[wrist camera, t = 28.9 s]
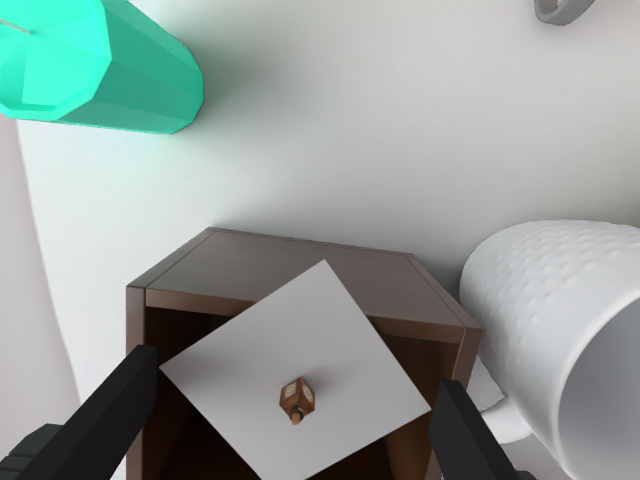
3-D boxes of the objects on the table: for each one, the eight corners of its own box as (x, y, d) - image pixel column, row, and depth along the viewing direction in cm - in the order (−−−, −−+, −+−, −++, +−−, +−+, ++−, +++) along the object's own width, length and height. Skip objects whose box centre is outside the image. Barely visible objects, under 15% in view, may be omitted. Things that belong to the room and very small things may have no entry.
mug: (438, 393, 28) (542, 597, 15) (359, 291, 25) (403, 432, 13) (608, 288, 26) (897, 423, 13) (539, 167, 23) (805, 187, 11)
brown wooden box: (207, 226, 24) (124, 285, 14) (412, 253, 25) (484, 329, 14) (198, 381, 27) (125, 527, 17) (380, 401, 28) (420, 553, 17)
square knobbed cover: (431, 409, 14) (448, 446, 13) (276, 495, 15) (271, 541, 14) (324, 258, 13) (326, 277, 11) (158, 367, 14) (134, 400, 12)
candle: (151, 8, 21) (-61, -176, 9) (224, 88, 22) (120, 17, 10) (88, 82, 22) (-177, 1, 10) (161, 154, 23) (0, 158, 11)
